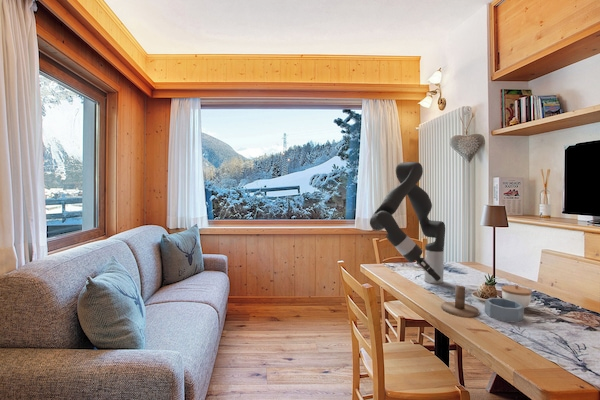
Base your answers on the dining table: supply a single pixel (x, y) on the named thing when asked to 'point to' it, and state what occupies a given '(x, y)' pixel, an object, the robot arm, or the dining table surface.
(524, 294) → the lidded jar
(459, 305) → the walnut lid
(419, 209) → the robot arm
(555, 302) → the dining table surface
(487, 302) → the ceramic bowl
